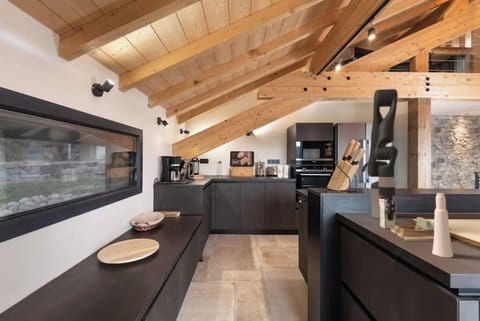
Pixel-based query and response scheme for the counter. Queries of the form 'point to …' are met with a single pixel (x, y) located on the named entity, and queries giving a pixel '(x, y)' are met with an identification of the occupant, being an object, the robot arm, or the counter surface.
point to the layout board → (413, 233)
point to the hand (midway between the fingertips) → (387, 218)
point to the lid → (426, 224)
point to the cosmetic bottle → (441, 229)
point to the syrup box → (386, 215)
